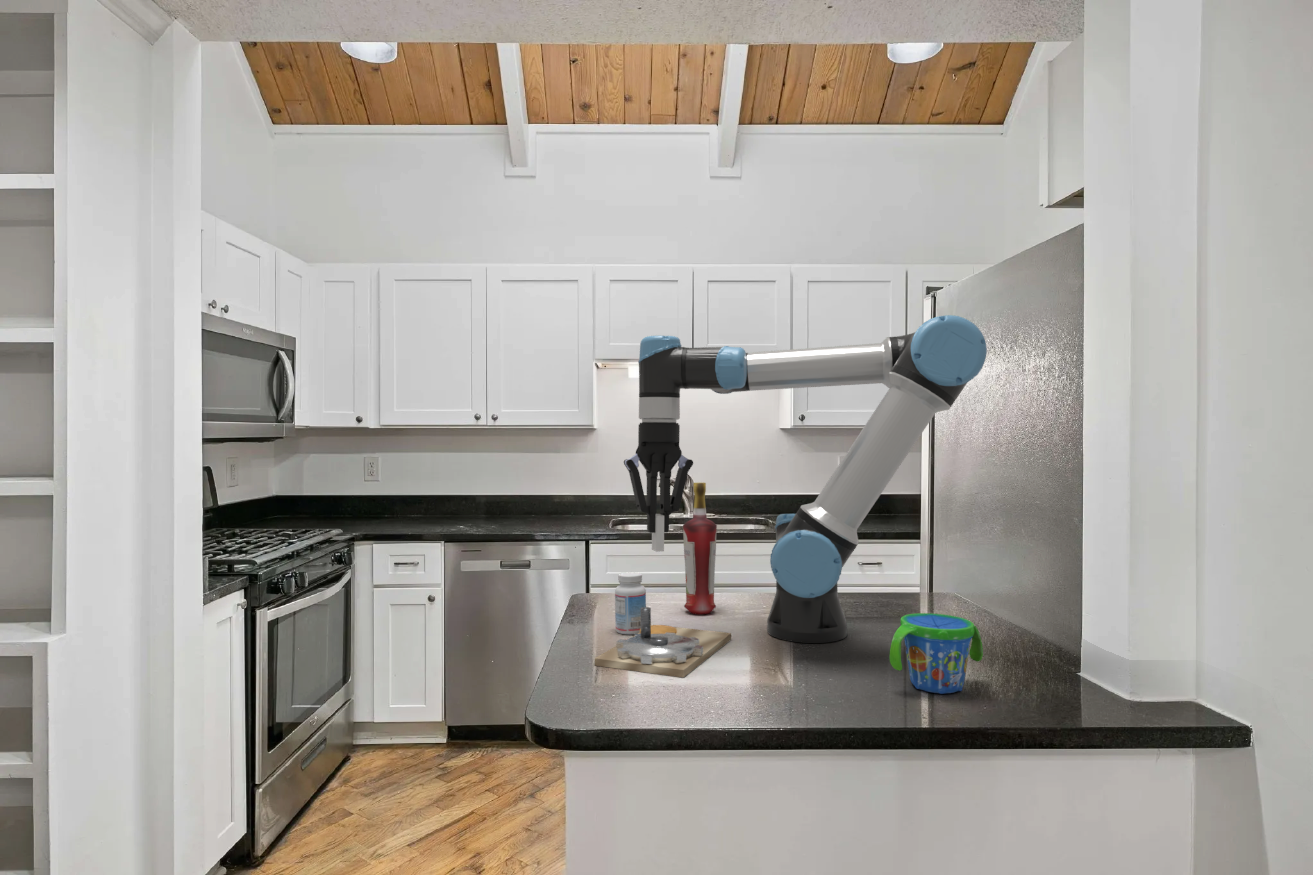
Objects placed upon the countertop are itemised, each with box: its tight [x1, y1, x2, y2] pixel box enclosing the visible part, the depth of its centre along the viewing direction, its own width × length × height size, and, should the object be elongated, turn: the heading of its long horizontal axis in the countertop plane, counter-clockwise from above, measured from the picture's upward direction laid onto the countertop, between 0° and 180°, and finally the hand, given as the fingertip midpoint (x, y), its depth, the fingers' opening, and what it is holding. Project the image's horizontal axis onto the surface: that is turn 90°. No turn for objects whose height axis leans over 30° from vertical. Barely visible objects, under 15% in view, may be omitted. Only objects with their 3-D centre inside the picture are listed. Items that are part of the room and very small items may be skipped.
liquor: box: [682, 481, 718, 616], centre depth 163 cm, size 7×7×28 cm
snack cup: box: [888, 612, 984, 695], centre depth 114 cm, size 16×10×10 cm
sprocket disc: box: [615, 606, 703, 664], centre depth 129 cm, size 15×15×6 cm
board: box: [594, 626, 732, 678], centre depth 133 cm, size 16×24×1 cm, turn 156°
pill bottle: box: [614, 571, 647, 636], centre depth 147 cm, size 6×6×11 cm
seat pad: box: [640, 624, 677, 634], centre depth 142 cm, size 7×7×1 cm
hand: (657, 550), depth 138 cm, fingers closed
